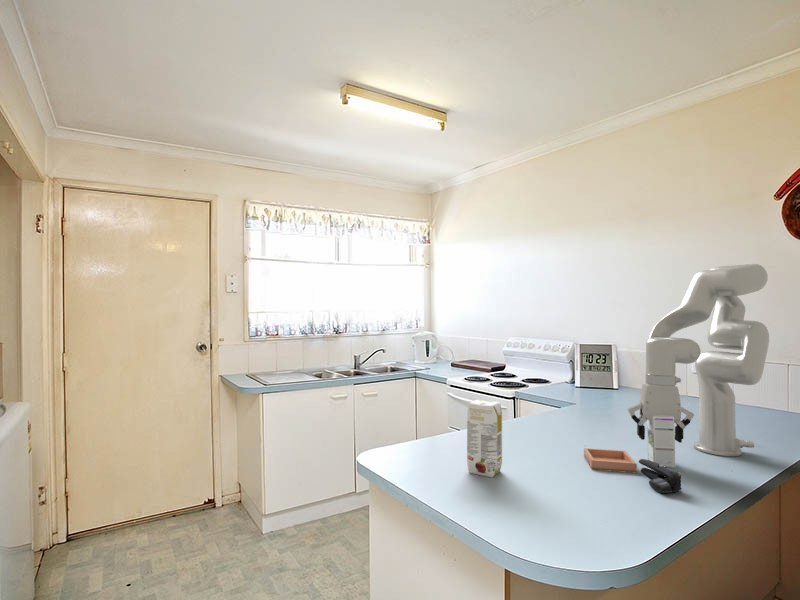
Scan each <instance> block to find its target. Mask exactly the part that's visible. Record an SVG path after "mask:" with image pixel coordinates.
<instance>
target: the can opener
mask: <svg viewBox="0 0 800 600" xmlns="http://www.w3.org/2000/svg"><path fill="white" fill-rule="evenodd" d="M638 463H639V464H640V465H641V466H645V467H642V468H641V469H640V470H639V471H640V473H642V474H643V475H644V476H645V477H647V478H651V479H650V480H648V484H649V486H650V488H651V489H653V490H654V491H655V492H658V493H675V492H679V491H681V490H682V473H681V472H678V471H673V470H671V469H670V468H669V467H664V465H663V464H658V463H655V462H653V461H650V460H648V459H645V458H640V459H639V460H638Z"/></svg>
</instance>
